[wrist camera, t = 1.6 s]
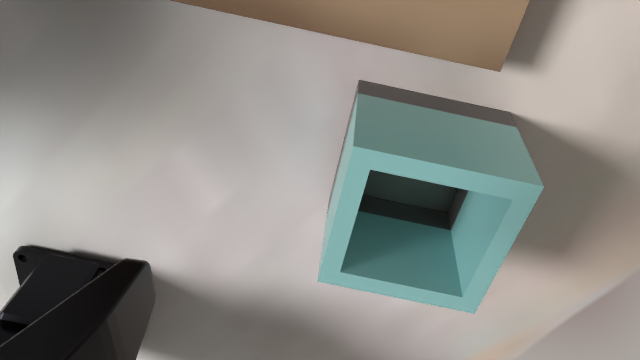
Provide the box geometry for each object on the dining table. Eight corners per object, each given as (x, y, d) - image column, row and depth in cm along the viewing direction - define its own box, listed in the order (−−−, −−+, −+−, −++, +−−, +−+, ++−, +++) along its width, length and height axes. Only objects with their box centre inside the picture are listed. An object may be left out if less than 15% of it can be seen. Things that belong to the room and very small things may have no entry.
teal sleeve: (457, 228, 23) (474, 313, 19) (328, 200, 23) (317, 281, 19) (510, 112, 20) (544, 186, 15) (358, 79, 19) (352, 146, 15)
